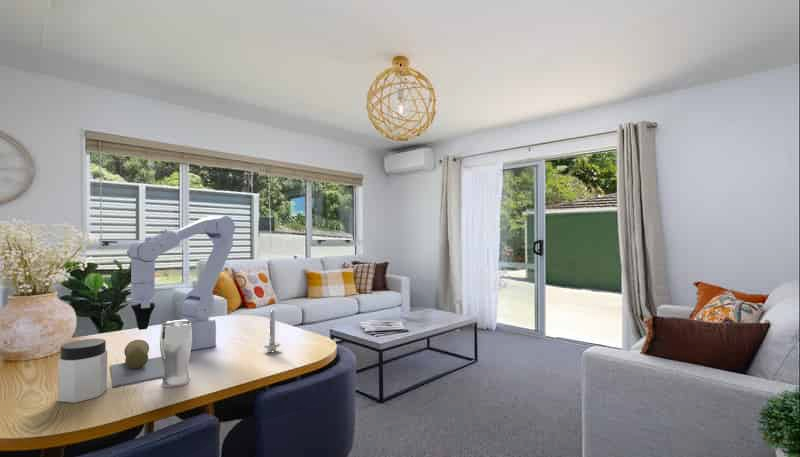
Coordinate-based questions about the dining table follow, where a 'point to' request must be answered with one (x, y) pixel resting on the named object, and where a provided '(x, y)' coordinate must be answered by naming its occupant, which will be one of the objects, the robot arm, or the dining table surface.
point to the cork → (136, 354)
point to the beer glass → (175, 352)
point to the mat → (136, 372)
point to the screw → (272, 335)
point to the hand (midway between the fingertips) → (142, 329)
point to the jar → (82, 370)
